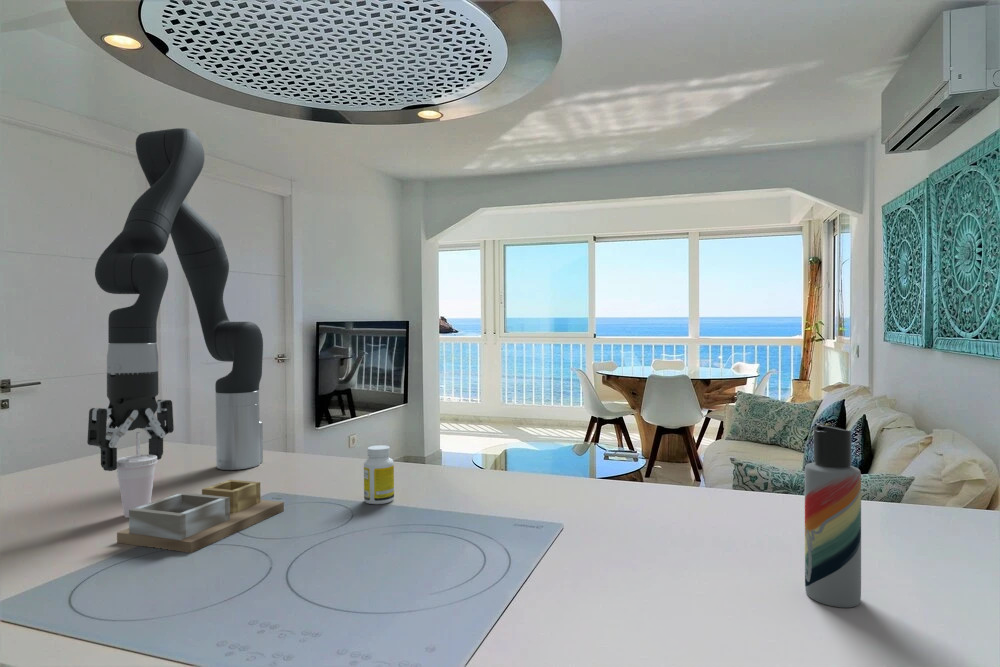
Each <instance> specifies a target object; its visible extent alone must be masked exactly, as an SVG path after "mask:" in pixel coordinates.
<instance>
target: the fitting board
mask: <svg viewBox="0 0 1000 667" xmlns="http://www.w3.org/2000/svg"><path fill="white" fill-rule="evenodd" d="M282 512H285V502H284V501H277V500H276V501H275V500H268V499H267V500H266V499H262V498H261V482H260V481H249V480H240V479H239V480H238V479H229V480H225V481H222V482H219V483H217V484H213V485H210V486H207V487H205V488H201V494H200V493H191V492H179V493H177V494H174V495H171V496H167V497H165V498H164V497H163V498H161V499H158V500H156V501H151V503H149V504H146V505H143V506H140V507H137V508H133V509H130V510H129V518H128V528H126V529H123V530H120V531H118V532H116V543H118V544H125V545H132V546H140V547H146V546H147V548H153V547H155V549H160V548H162V550H167V549H168V550H167V551H174V550H175V552H176V551H177V552H183V553H188V554H189V553H190V554H191V553H194V552H196V550H197V551H199V550H201V549H203V548H205V547H207V546H210V545H213V544H214V543H216V542H219V541H220V539H221V540H222V538H223V539H224V537H225V538H227V537H229V536H232V535H234V534H236V533H238V532H240V531H243V530H245V529H247V528H249V527H251V526H253V525H257V523H260V522H263V521H264V520H266V519H268V518H270V517H273V516H276V515H278V514H279V513H282ZM242 529H243V530H242ZM235 532H236V533H235ZM233 533H234V534H233ZM231 534H232V535H231Z"/></svg>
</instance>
